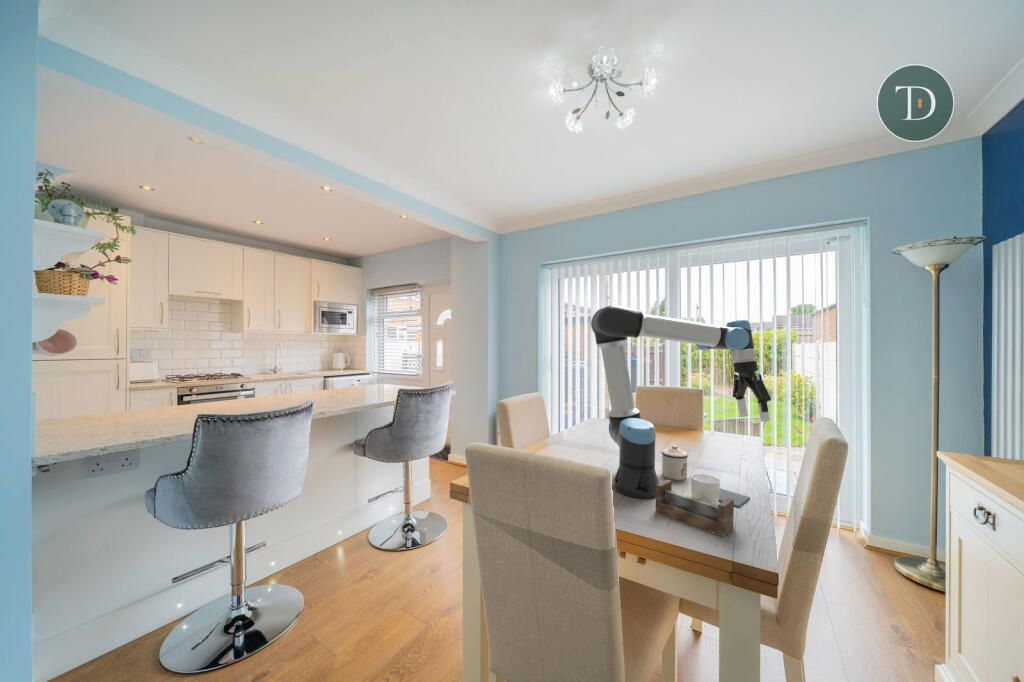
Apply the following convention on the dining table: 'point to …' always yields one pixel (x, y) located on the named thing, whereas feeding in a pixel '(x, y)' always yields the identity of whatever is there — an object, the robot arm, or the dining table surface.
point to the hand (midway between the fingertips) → (754, 418)
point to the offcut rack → (695, 509)
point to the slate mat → (733, 497)
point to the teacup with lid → (674, 463)
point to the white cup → (705, 488)
